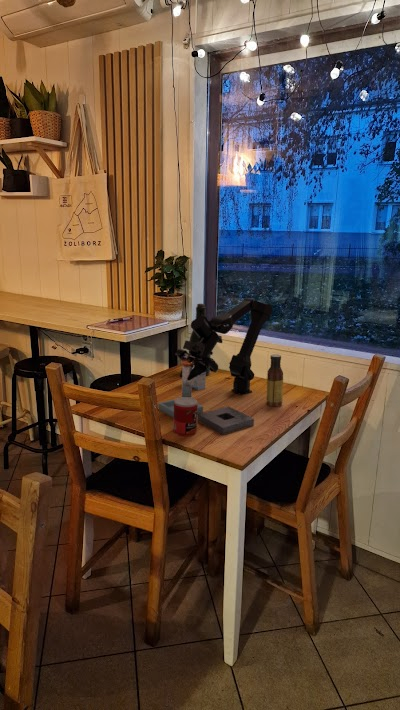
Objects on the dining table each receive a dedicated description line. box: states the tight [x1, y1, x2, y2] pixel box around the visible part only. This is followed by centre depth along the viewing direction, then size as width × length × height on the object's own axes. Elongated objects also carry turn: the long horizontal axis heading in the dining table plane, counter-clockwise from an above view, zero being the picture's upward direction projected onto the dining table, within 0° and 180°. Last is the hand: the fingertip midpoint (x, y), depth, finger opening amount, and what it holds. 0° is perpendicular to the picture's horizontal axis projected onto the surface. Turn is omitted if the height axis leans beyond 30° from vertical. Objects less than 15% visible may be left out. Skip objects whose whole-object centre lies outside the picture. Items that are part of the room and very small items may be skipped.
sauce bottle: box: [266, 353, 284, 407], centre depth 185 cm, size 7×6×20 cm
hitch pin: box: [180, 360, 194, 398], centre depth 177 cm, size 5×5×14 cm
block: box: [197, 405, 255, 435], centre depth 168 cm, size 14×14×2 cm
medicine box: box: [192, 367, 207, 391], centre depth 204 cm, size 8×4×9 cm, turn 42°
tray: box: [157, 398, 204, 419], centre depth 177 cm, size 12×12×2 cm
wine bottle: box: [188, 303, 212, 376], centre depth 219 cm, size 10×10×33 cm
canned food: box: [173, 396, 199, 437], centre depth 159 cm, size 8×8×11 cm
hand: (184, 378), depth 176 cm, fingers closed on hitch pin, 4 cm apart
